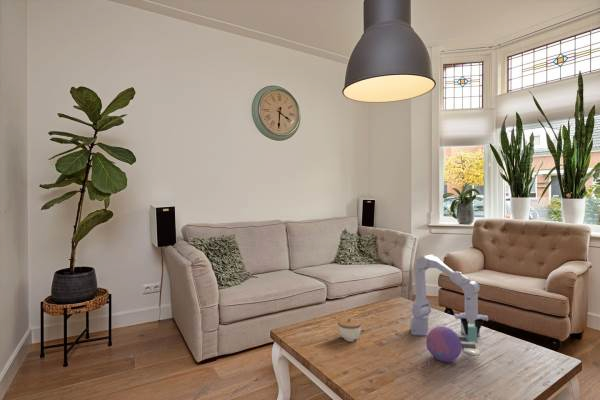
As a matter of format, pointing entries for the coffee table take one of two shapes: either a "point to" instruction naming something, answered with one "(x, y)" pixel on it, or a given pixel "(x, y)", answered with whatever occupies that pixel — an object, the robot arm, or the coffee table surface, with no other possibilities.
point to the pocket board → (466, 344)
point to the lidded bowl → (349, 328)
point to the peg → (472, 333)
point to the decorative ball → (443, 344)
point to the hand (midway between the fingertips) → (471, 334)
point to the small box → (468, 323)
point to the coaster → (471, 351)
